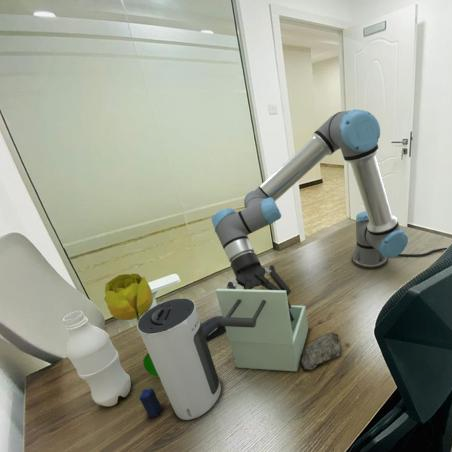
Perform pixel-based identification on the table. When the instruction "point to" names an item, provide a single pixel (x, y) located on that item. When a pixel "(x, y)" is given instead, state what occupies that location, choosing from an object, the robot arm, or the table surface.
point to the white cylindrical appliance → (181, 356)
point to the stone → (321, 351)
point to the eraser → (150, 402)
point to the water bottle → (95, 360)
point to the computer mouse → (212, 327)
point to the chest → (275, 348)
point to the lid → (255, 315)
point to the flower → (130, 303)
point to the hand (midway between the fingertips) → (276, 330)
